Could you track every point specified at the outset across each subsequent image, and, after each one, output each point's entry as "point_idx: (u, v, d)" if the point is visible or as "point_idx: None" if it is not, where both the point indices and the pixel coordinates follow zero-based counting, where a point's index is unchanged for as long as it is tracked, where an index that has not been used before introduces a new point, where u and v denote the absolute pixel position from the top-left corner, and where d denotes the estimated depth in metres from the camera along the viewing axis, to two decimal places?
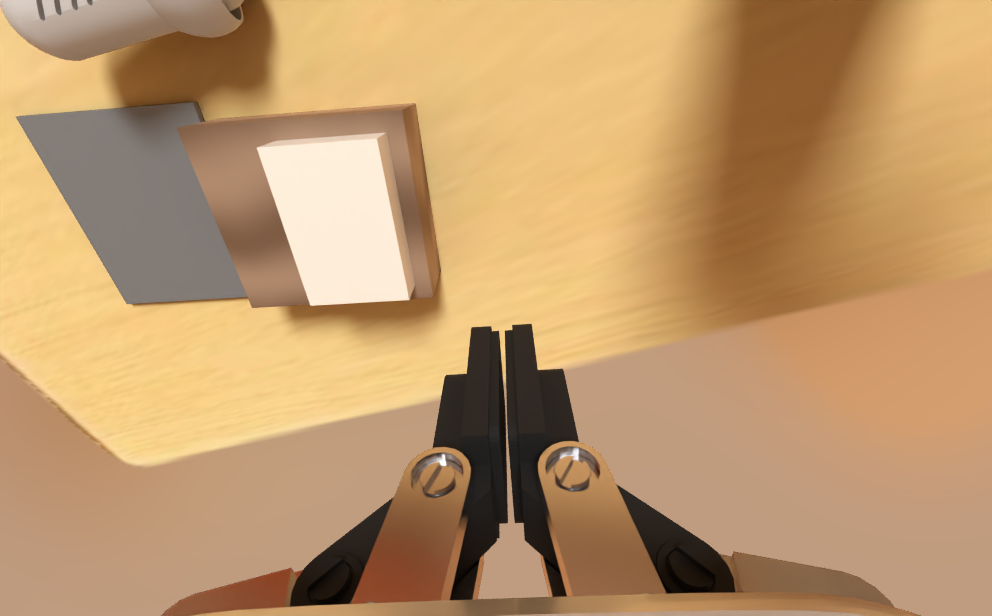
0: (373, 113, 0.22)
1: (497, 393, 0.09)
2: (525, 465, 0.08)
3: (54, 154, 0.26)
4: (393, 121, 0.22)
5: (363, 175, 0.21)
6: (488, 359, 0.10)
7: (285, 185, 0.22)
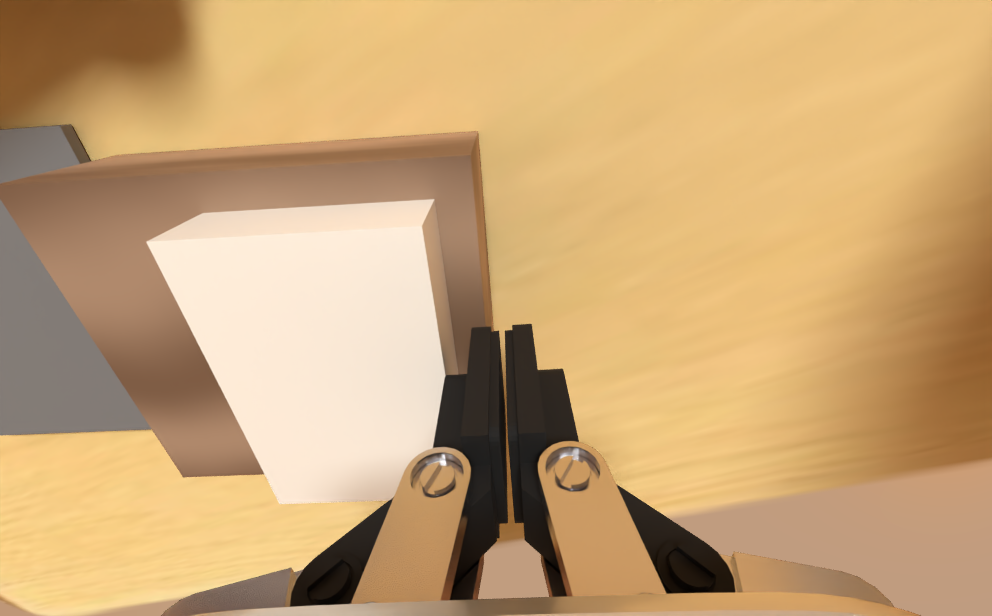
0: (409, 161, 0.10)
1: (497, 393, 0.09)
2: (525, 465, 0.08)
3: None
4: (450, 177, 0.10)
5: (387, 298, 0.10)
6: (488, 359, 0.10)
7: (217, 314, 0.10)
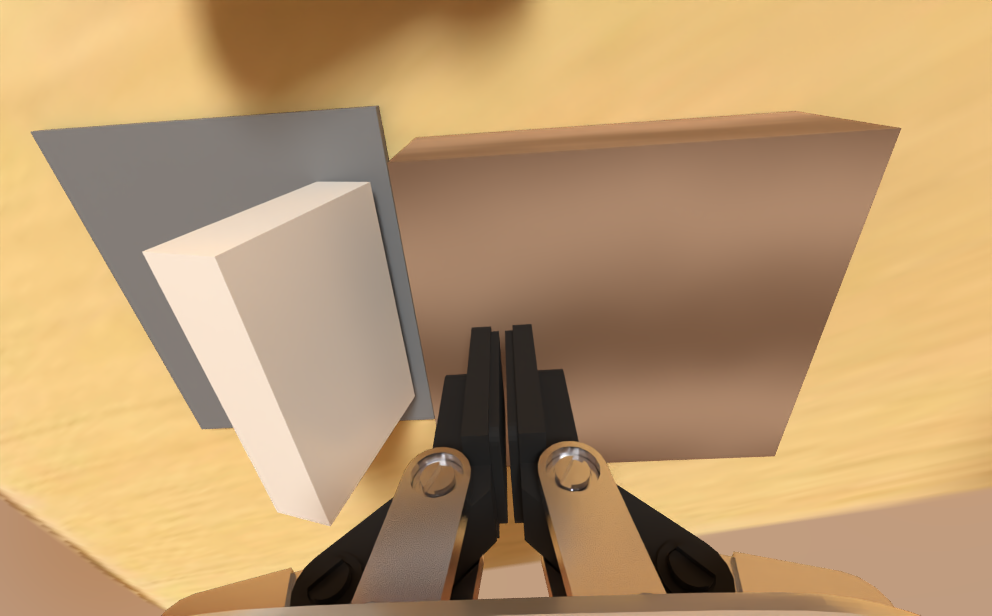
0: (835, 135, 0.10)
1: (497, 393, 0.09)
2: (525, 465, 0.08)
3: (99, 199, 0.14)
4: (869, 152, 0.10)
5: None
6: (489, 359, 0.10)
7: None
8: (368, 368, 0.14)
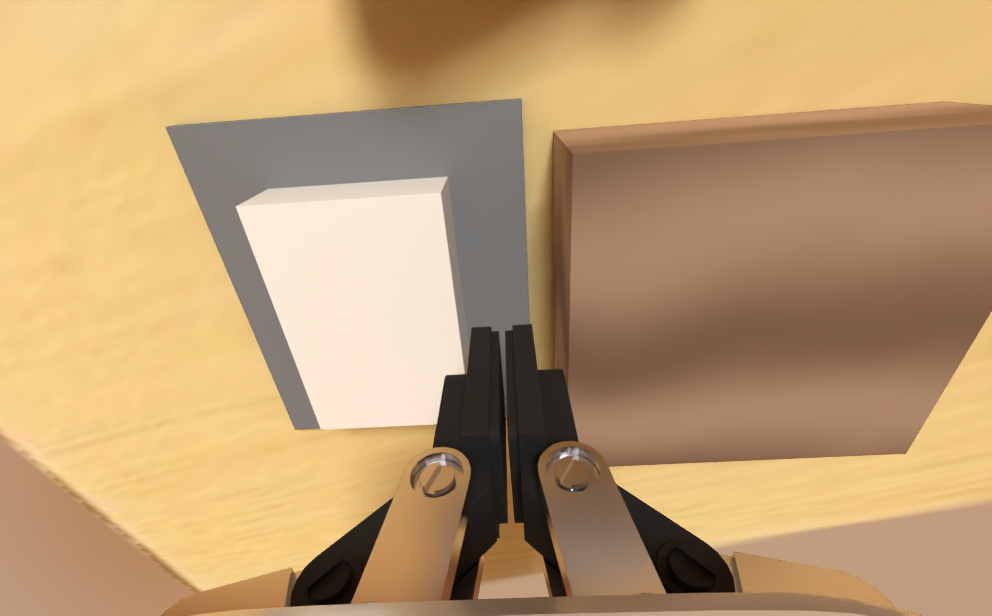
0: None
1: (497, 393, 0.09)
2: (525, 465, 0.08)
3: (225, 196, 0.14)
4: None
5: None
6: (488, 359, 0.10)
7: None
8: (394, 356, 0.15)
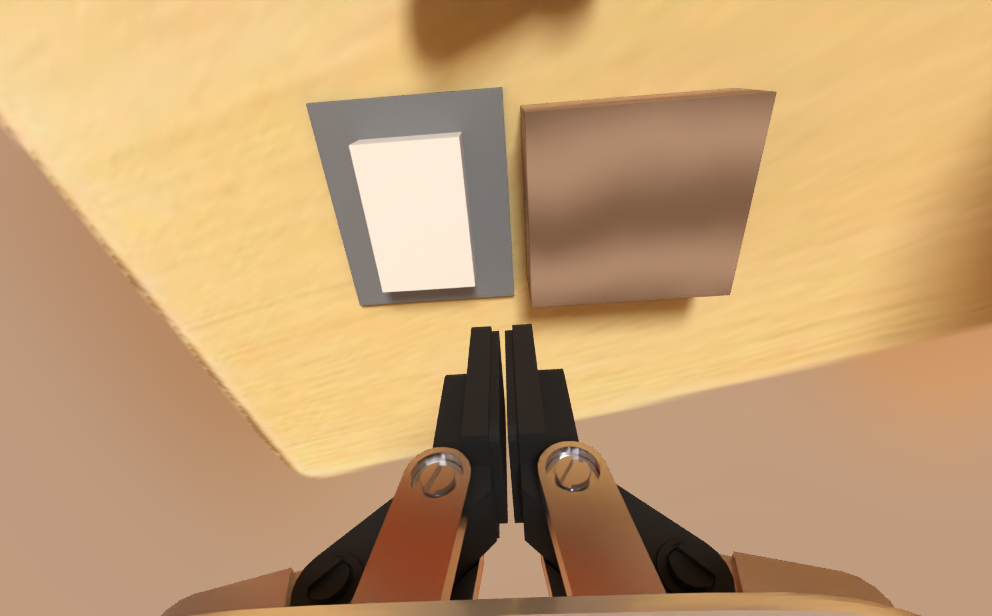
0: (745, 95, 0.20)
1: (497, 393, 0.09)
2: (525, 465, 0.08)
3: (334, 144, 0.25)
4: (762, 104, 0.20)
5: None
6: (489, 359, 0.10)
7: None
8: (430, 239, 0.25)
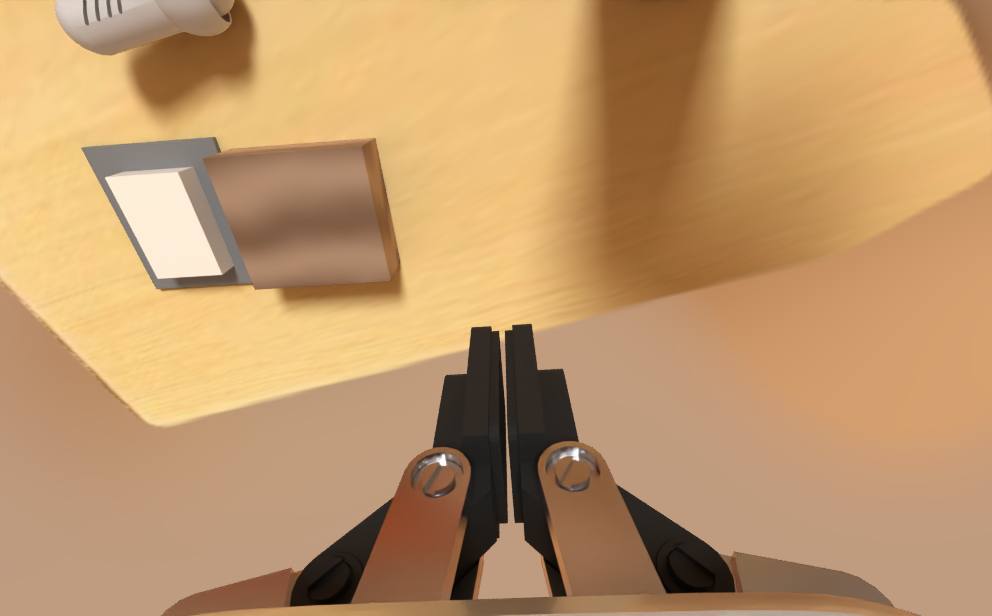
0: (341, 148, 0.31)
1: (497, 393, 0.09)
2: (525, 465, 0.08)
3: (107, 174, 0.35)
4: (355, 154, 0.31)
5: None
6: (488, 359, 0.10)
7: None
8: (179, 241, 0.36)
